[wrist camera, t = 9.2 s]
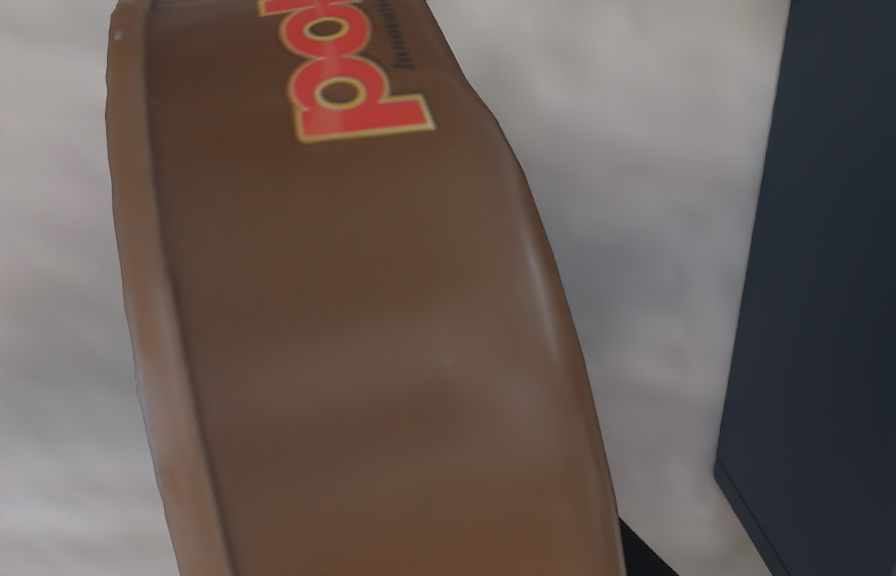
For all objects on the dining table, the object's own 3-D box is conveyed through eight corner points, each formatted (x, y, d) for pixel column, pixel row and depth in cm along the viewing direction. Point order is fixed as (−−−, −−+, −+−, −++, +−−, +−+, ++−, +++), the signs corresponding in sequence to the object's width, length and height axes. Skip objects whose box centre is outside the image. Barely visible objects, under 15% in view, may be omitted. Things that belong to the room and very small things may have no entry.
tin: (132, -133, 9) (-173, 568, 3) (424, -175, 9) (768, 387, 3) (361, 598, 19) (410, 1122, 13) (501, 571, 19) (619, 1072, 13)
